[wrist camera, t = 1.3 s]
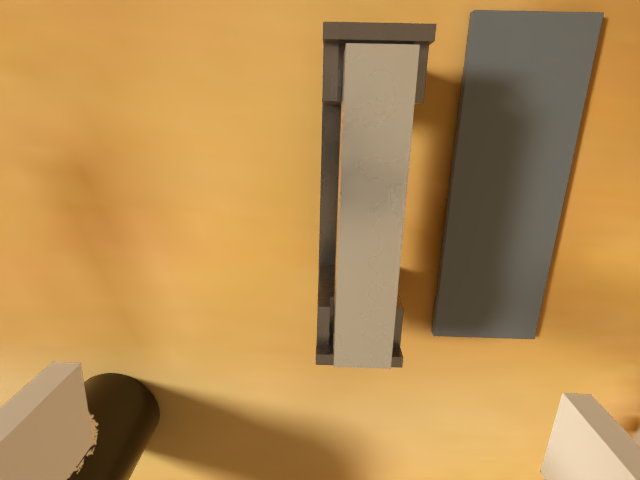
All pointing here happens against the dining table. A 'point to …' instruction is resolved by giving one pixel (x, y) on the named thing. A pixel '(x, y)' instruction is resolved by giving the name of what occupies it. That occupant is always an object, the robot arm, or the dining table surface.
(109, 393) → the water bottle
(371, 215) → the rail
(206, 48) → the dining table surface
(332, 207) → the rack
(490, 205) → the mat
